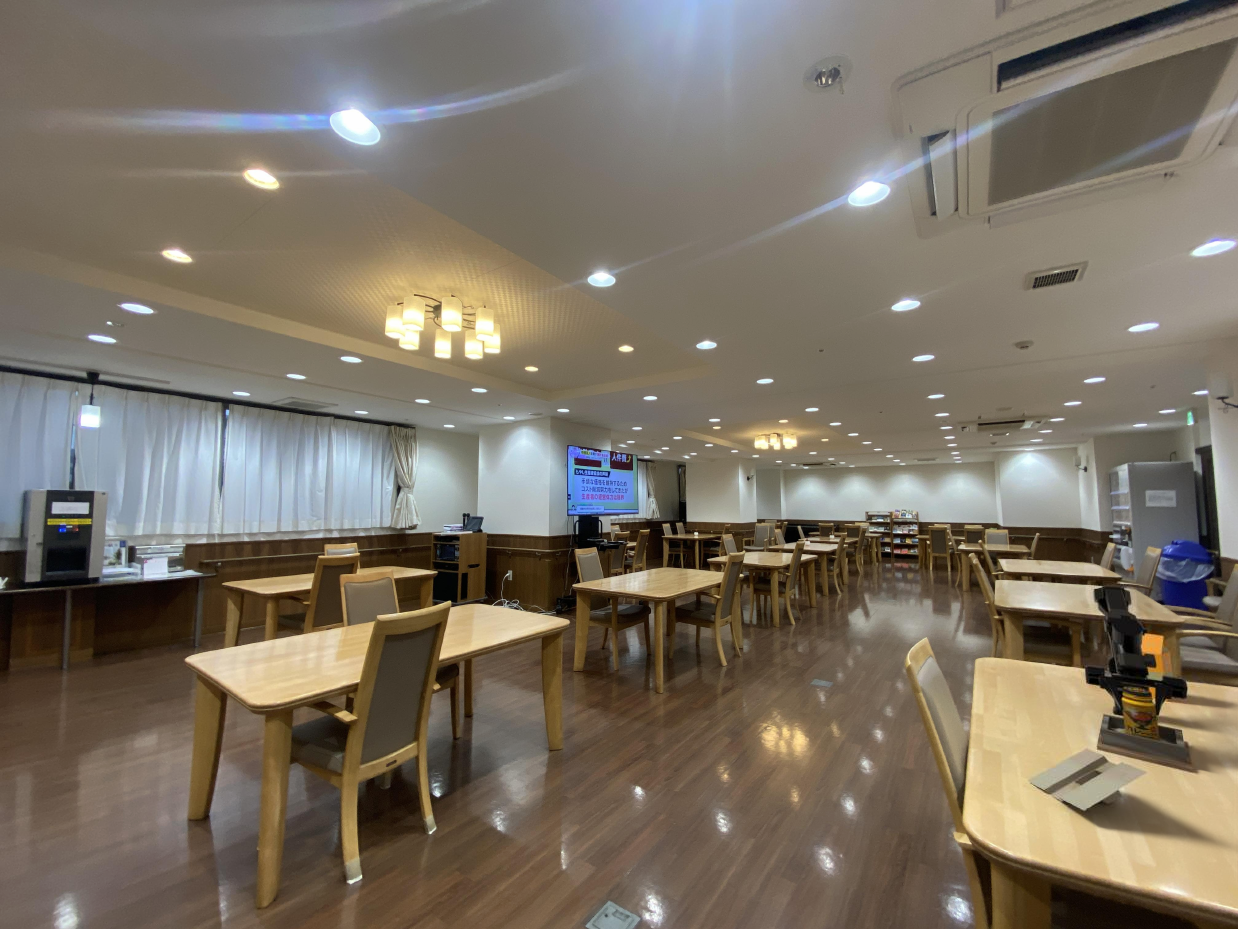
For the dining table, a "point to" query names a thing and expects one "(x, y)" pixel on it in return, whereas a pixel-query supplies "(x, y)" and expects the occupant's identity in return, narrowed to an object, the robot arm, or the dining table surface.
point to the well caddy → (1145, 744)
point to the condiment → (1139, 713)
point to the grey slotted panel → (1086, 779)
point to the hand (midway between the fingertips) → (1139, 711)
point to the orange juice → (1157, 658)
